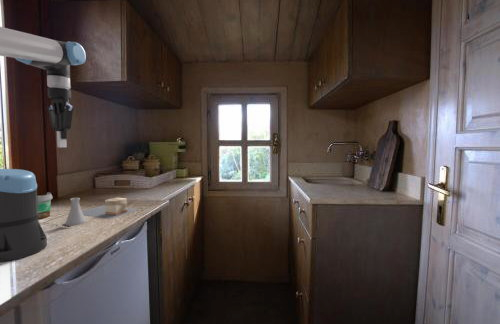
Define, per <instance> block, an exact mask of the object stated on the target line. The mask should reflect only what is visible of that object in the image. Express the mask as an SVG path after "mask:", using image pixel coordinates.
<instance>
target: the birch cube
mask: <svg viewBox="0 0 500 324" xmlns="http://www.w3.org/2000/svg"><path fill="white" fill-rule="evenodd" d="M104 201H105V203H104V205H105V210H106V214H110V215H119V214H122V213H125V212H127V208H128V199H127V198H125V197H113V198H108V199H105V200H104Z"/></svg>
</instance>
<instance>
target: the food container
mask: <svg viewBox="0 0 500 324" xmlns="http://www.w3.org/2000/svg"><path fill="white" fill-rule="evenodd" d="M37 198H38V221H39V220H43V219H47V218H49V217H50V216H51V206H52V205H51V200H53V198H54V197H53V195H52V192H49V191H48V192H46V194H43V195H37Z"/></svg>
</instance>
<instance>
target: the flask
mask: <svg viewBox="0 0 500 324" xmlns="http://www.w3.org/2000/svg"><path fill="white" fill-rule="evenodd" d="M69 200H70V203H71V204H70V209H69V213H68V216H67V218H66V221H65V226H69V227H72V226H78V225H82V224H86V223H87V219H86V216H84V215H83V213H82V211H83V210H82V208H81V205H80V200H81V198H80V197H72V198H70V199H69Z"/></svg>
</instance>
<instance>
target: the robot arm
mask: <svg viewBox="0 0 500 324" xmlns="http://www.w3.org/2000/svg"><path fill="white" fill-rule="evenodd" d="M0 56H1V57H6V58H7V57H8V58H14V59H15V60H16V61H18V62H21V63H23V64H25V65H28V66H32V67H36V68H39V69H42V70H44V71H46V85H47V87H48V88H47V97H48V98H49V99H51V102H50V106H46V110H47V112H48V116H49V120H50V125H51V129H52V130H53V131H55V132H56V134H55V135H56V144H57V148H67V147H68V146H67V145H68V142H67V135H68V134H67V132H68V130H71V128H72V122H73V121H72V120H73V119H72V118H73V112H74V110H75V106H74V105H71V104H70V101H69V100H72V90H71V88H72V86H71V66H79V65H83V64H85V63H86V60H87V56H86V51H85V49H84V47H83V46H82V45H81V44H80V43H78V42H76V41H60V40H56V39H51V38H48V37H43V36H39V35H35V34H33V33H28V32H24V31H20V30H16V29H10V28H7V27H4V26H0ZM37 196H38V183H37V180H36V174H35V173H33V172H32V171H29V170H27V169H26V170H25V169H19V168H18V169H17V168H0V263H3V262H8V261H13V260H17V259H21V258H24V257H28V256H32V255H33V254H35V253H38V252H40V251H42V250H44V249H45V248H47V246H48V238H47V235H46V233H45V232H44V230H43V227H42V226H41V224H40V221H39V220H38V198H37Z"/></svg>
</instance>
